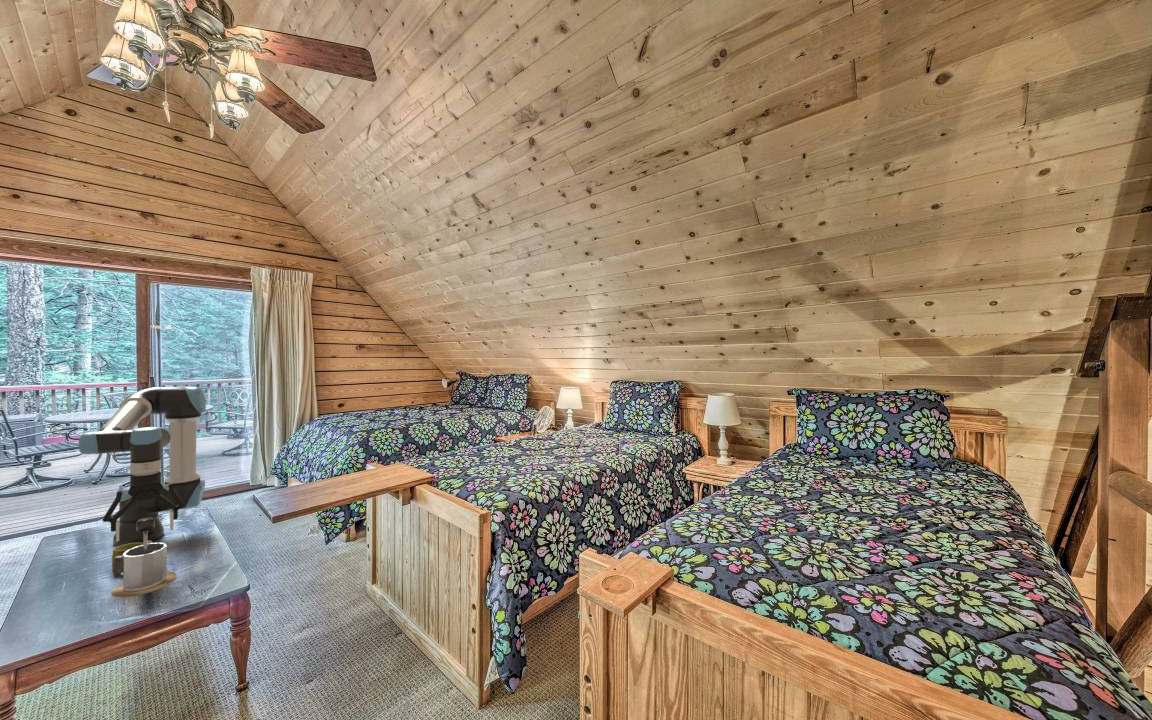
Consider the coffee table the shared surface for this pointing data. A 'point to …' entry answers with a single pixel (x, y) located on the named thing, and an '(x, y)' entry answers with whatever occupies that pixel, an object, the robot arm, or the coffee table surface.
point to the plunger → (145, 530)
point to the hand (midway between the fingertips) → (145, 534)
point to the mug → (121, 549)
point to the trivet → (120, 593)
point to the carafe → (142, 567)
